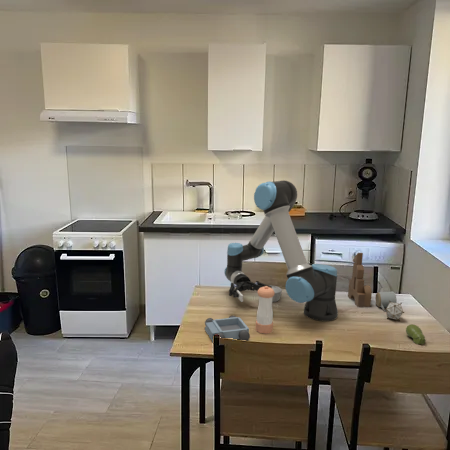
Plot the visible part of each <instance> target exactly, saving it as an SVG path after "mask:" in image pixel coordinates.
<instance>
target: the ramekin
mask: <svg viewBox="0 0 450 450" xmlns="http://www.w3.org/2000/svg"><path fill="white" fill-rule="evenodd" d="M268 285H269V286H271V287H272V289H273V290H274V292H275V294H274V296H273V297H272V303H275V302H278V301H280V299H281V295H282V293H283V289H282V287H279V286H277V285H270V284H268Z"/></svg>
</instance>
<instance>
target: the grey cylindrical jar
mask: <svg viewBox="0 0 450 450" xmlns="http://www.w3.org/2000/svg"><path fill="white" fill-rule="evenodd" d="M389 300H390V301H391V302H393V303H398V302H397V294H396V293H395V291H379V292H376V293H375V304H376V306H377V307H379V308H381V309H382V310H383V311H384V312H386V310H385V309H386V308H387V306H388V305H389V303H390V302H389Z"/></svg>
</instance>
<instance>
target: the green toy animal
mask: <svg viewBox="0 0 450 450" xmlns="http://www.w3.org/2000/svg"><path fill="white" fill-rule="evenodd" d="M405 333H406V335H407V336H408V337H409V338H411V339H412V341H413V343H414V344H416V345H425V343H426V339H425V338H426V337H425V335H424V334H423V330H422V329H421V327H419V326H418V325H416V324H409V325H407V326H406V328H405Z"/></svg>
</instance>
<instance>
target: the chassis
mask: <svg viewBox="0 0 450 450" xmlns="http://www.w3.org/2000/svg"><path fill="white" fill-rule="evenodd" d="M204 325H205V327H204V330H205V332H206V334H207V335H209V336H208V337H209V339H210V341H211V340H212V341H211V342H212V343H213V336H214V335H215V334H218V335H220V337H221V338H233V339H240V340H241V341H242V340H247V341H249V339H250V338H251V336H250V328H249V326H248V325H247V324H246V323H245V322H244V321H243V319H242V318H241V317H238V316H236V315H230V316H229V317H226V318H215V319H214V318H212V317H208V318H207V319H205V321H204Z"/></svg>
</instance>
